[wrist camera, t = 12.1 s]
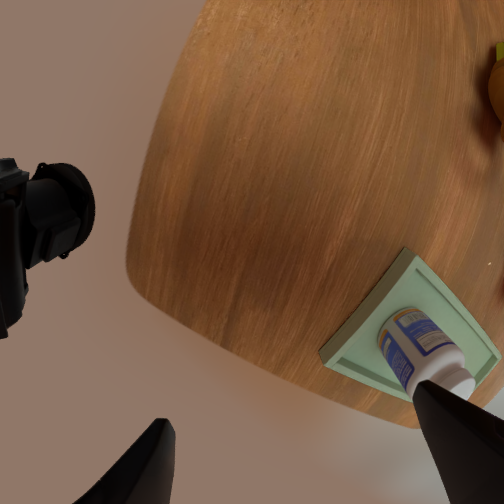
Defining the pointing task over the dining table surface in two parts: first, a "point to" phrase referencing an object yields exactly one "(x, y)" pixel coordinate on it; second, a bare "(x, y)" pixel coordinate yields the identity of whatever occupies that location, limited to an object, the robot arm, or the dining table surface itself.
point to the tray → (390, 302)
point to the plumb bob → (498, 86)
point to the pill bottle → (423, 354)
